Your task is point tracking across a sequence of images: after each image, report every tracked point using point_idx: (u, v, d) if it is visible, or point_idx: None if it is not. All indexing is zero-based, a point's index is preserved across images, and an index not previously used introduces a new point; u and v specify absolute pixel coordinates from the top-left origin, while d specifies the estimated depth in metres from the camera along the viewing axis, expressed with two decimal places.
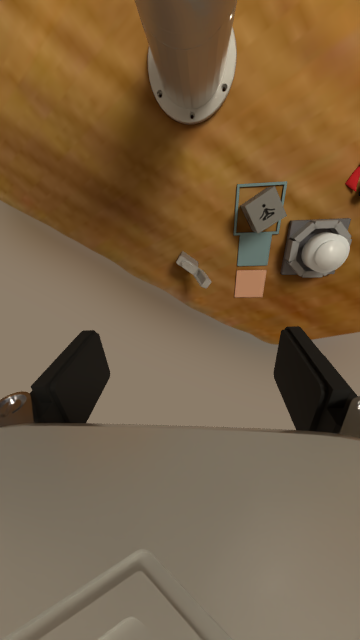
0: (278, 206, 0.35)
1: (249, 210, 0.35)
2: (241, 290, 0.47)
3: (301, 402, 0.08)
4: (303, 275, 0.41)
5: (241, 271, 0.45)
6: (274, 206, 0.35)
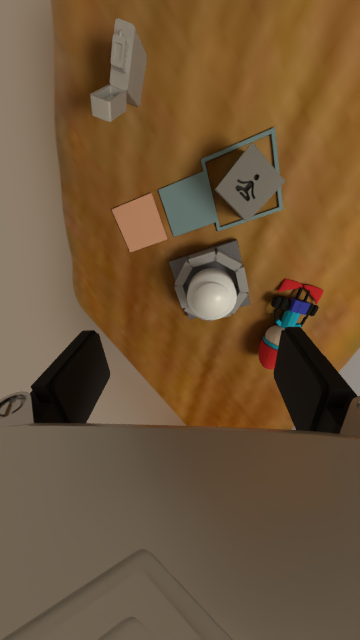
0: (258, 202, 0.23)
1: (246, 154, 0.21)
2: (125, 216, 0.29)
3: (301, 402, 0.08)
4: (176, 287, 0.31)
5: (153, 200, 0.28)
6: (257, 196, 0.23)
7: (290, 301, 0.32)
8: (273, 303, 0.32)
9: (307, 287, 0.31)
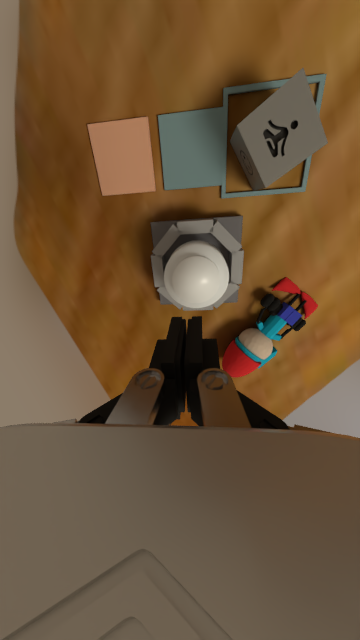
0: (286, 163, 0.17)
1: (291, 84, 0.15)
2: (105, 141, 0.21)
3: None
4: (154, 256, 0.24)
5: (147, 129, 0.21)
6: (288, 153, 0.17)
7: (282, 305, 0.27)
8: (264, 300, 0.26)
9: (305, 296, 0.27)
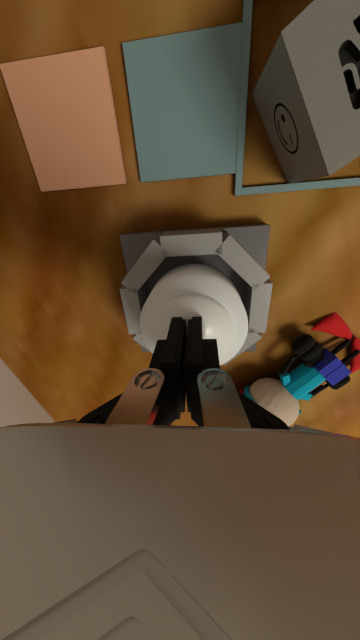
0: None
1: None
2: (34, 96, 0.12)
3: None
4: (125, 290, 0.15)
5: (106, 73, 0.12)
6: None
7: (323, 354, 0.18)
8: (299, 345, 0.17)
9: (358, 343, 0.18)
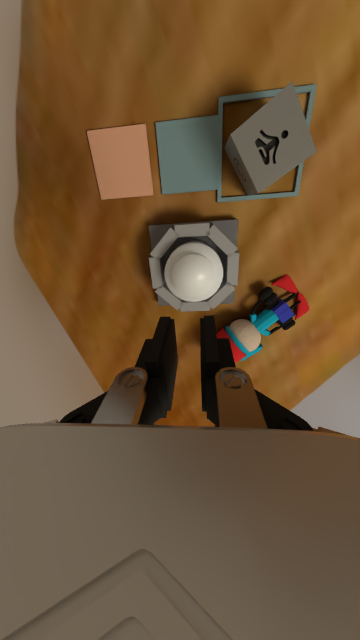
0: (277, 170, 0.18)
1: (281, 96, 0.16)
2: (104, 147, 0.22)
3: None
4: (152, 258, 0.24)
5: (145, 136, 0.21)
6: (279, 161, 0.18)
7: (278, 301, 0.27)
8: (262, 292, 0.26)
9: (300, 296, 0.27)
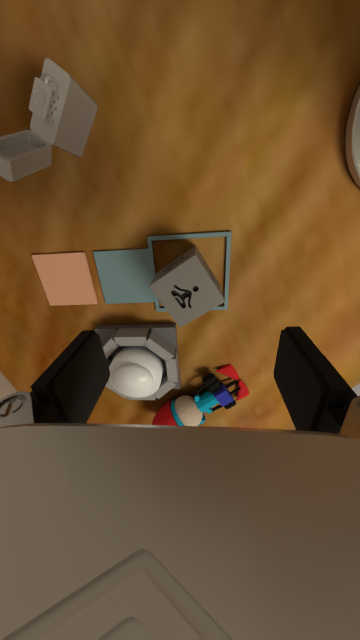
0: (194, 312, 0.20)
1: (188, 264, 0.18)
2: (48, 267, 0.24)
3: (301, 402, 0.08)
4: None
5: (85, 260, 0.23)
6: (194, 306, 0.20)
7: (220, 386, 0.29)
8: (206, 379, 0.28)
9: (241, 383, 0.29)
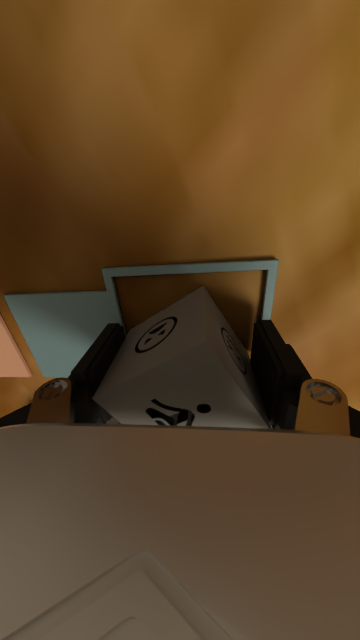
0: None
1: (185, 361, 0.07)
2: None
3: (267, 388, 0.09)
4: None
5: None
6: None
7: None
8: None
9: None
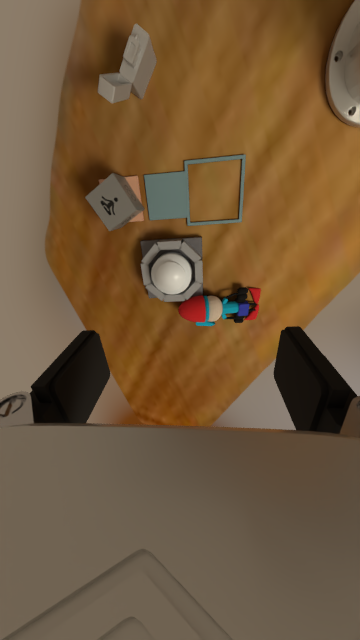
0: (117, 218, 0.30)
1: (108, 180, 0.28)
2: None
3: (301, 402, 0.08)
4: (143, 264, 0.35)
5: (137, 183, 0.32)
6: (116, 213, 0.29)
7: (245, 301, 0.38)
8: (241, 289, 0.37)
9: (257, 307, 0.39)
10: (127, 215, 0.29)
